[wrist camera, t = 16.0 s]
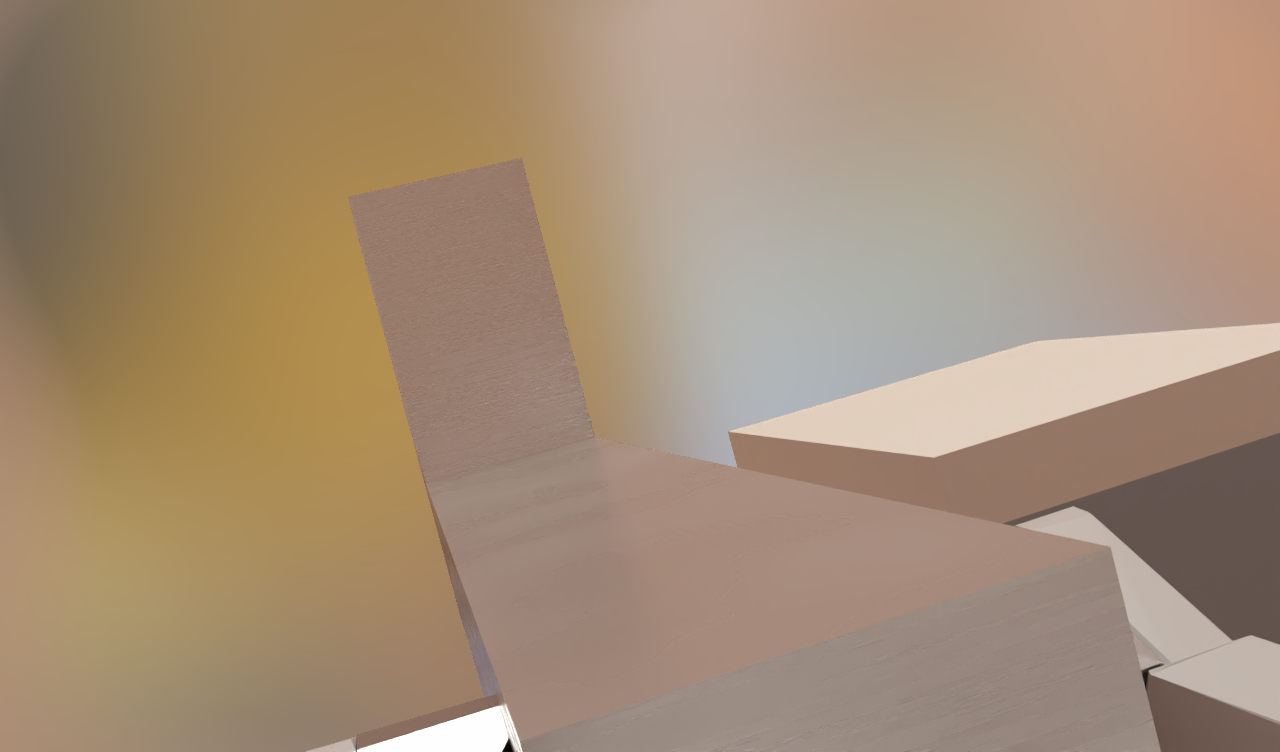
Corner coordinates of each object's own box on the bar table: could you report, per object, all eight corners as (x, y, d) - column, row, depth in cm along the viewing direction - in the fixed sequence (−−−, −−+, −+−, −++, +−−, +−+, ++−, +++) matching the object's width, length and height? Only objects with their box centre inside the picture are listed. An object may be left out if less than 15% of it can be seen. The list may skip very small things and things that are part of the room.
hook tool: (608, 576, 23) (505, 187, 23) (1254, 1124, 6) (858, -464, 6) (462, 621, 23) (354, 222, 23) (691, 1379, 5) (216, -388, 5)
